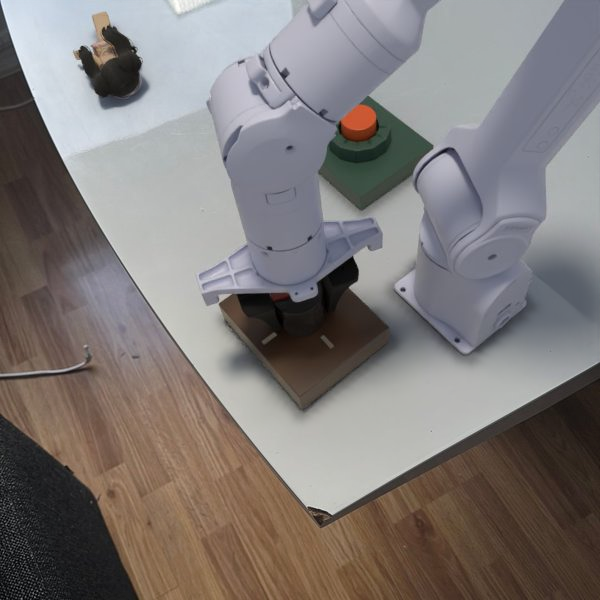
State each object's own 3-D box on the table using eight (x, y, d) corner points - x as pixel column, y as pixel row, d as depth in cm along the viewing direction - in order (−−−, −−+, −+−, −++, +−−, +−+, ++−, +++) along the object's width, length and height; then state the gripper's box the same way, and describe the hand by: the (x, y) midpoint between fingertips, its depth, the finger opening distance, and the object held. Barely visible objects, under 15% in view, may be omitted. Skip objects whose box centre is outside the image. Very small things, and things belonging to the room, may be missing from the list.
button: (383, 129, 68) (383, 117, 66) (356, 147, 67) (356, 135, 66) (360, 111, 70) (360, 99, 68) (334, 129, 69) (333, 116, 67)
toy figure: (67, 48, 86) (102, 113, 78) (52, 2, 81) (88, 67, 73) (120, 33, 88) (159, 95, 80) (108, -13, 82) (149, 48, 75)
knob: (317, 287, 60) (313, 261, 56) (332, 327, 57) (329, 303, 54) (271, 301, 59) (264, 276, 56) (284, 343, 57) (278, 319, 53)
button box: (432, 159, 70) (435, 132, 66) (360, 210, 67) (360, 185, 64) (358, 102, 75) (357, 74, 72) (289, 147, 73) (285, 120, 69)
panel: (388, 342, 60) (389, 326, 57) (302, 410, 57) (299, 396, 54) (306, 260, 65) (303, 241, 62) (224, 319, 62) (217, 302, 60)
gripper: (197, 296, 44) (234, 378, 55) (400, 228, 45) (394, 323, 57) (174, 217, 47) (213, 310, 59) (363, 157, 49) (365, 259, 60)
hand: (300, 312), depth 58 cm, fingers closed on knob, 4 cm apart
